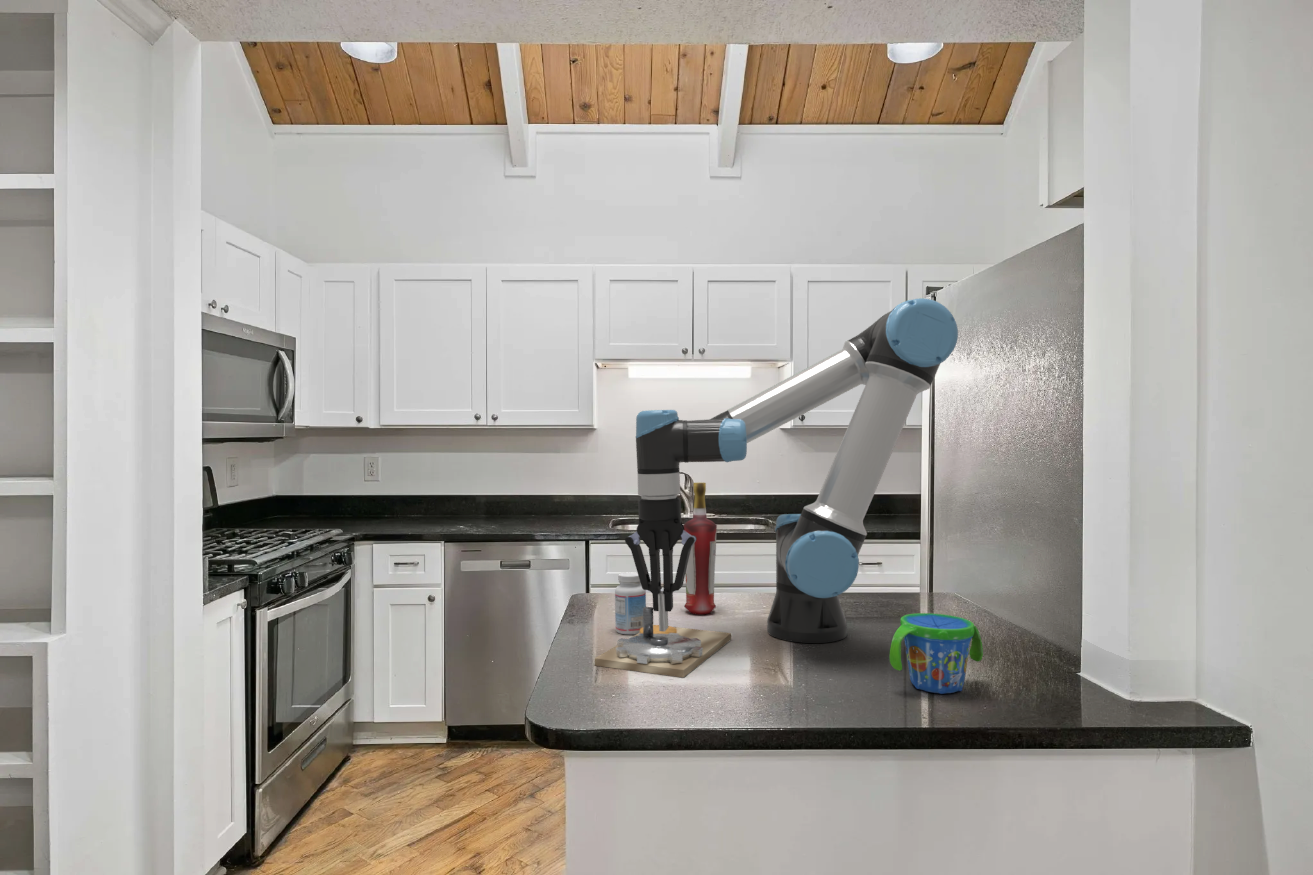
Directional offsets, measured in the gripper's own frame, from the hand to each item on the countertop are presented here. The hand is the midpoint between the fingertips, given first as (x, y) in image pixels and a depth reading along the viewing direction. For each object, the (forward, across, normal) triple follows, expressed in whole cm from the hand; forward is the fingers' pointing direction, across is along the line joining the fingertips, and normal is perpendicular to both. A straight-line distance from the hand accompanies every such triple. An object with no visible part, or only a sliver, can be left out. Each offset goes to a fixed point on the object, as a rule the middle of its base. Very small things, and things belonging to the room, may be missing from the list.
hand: (663, 629), depth 134 cm
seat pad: (+3, +3, -8) cm, 9 cm away
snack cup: (+5, -45, +9) cm, 46 cm away
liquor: (+5, -1, -30) cm, 30 cm away
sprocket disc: (+3, 0, +5) cm, 5 cm away
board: (+4, 0, 0) cm, 4 cm away
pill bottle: (+4, +10, -12) cm, 16 cm away
